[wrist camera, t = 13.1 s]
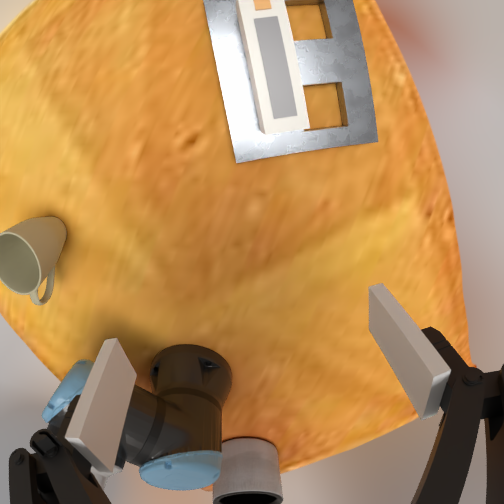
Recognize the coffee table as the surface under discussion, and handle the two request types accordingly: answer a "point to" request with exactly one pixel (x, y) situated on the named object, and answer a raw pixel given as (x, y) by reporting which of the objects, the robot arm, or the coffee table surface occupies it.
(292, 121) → the white peg
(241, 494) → the planter
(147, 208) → the coffee table surface
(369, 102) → the keyhole board
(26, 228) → the mug
